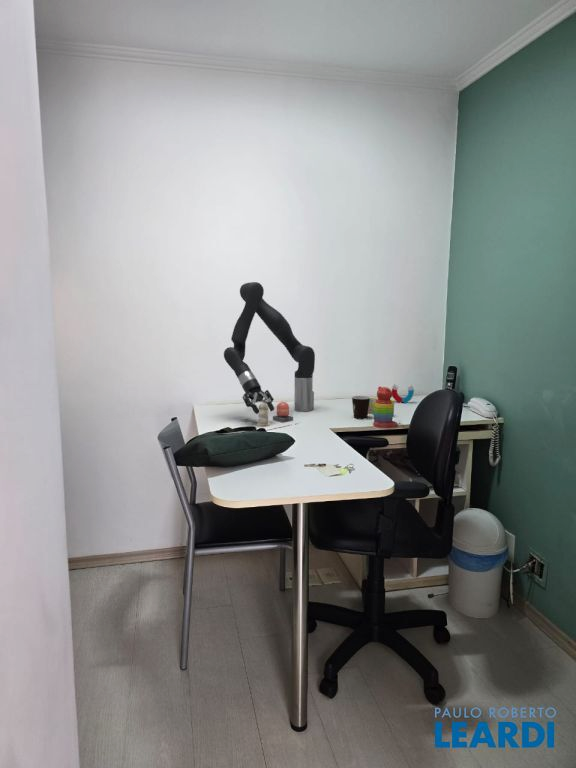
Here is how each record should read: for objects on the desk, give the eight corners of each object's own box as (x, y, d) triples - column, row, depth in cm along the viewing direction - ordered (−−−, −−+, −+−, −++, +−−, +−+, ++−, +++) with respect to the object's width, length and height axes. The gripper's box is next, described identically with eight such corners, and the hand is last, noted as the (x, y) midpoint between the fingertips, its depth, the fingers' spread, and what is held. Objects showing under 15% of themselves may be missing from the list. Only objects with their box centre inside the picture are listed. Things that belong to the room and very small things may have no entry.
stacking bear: (400, 426, 254) (401, 387, 251) (383, 429, 248) (384, 389, 245) (383, 421, 262) (384, 384, 259) (367, 424, 257) (368, 386, 254)
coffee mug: (368, 420, 265) (369, 399, 264) (350, 419, 267) (351, 398, 265) (370, 414, 276) (370, 395, 275) (352, 414, 278) (353, 394, 277)
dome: (283, 412, 264) (283, 400, 263) (292, 414, 260) (292, 402, 259) (273, 414, 260) (273, 401, 259) (282, 416, 256) (282, 403, 255)
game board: (269, 415, 275) (269, 410, 274) (300, 423, 259) (300, 417, 258) (226, 423, 258) (226, 418, 257) (256, 432, 241) (256, 426, 241)
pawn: (264, 422, 256) (264, 401, 254) (272, 424, 251) (272, 403, 250) (254, 424, 252) (254, 402, 250) (262, 426, 248) (262, 404, 246)
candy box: (394, 416, 274) (394, 399, 272) (392, 417, 272) (392, 400, 271) (364, 412, 283) (365, 396, 282) (362, 412, 281) (363, 396, 280)
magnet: (413, 402, 306) (414, 384, 305) (413, 403, 304) (413, 385, 302) (391, 401, 309) (392, 383, 308) (391, 402, 307) (391, 384, 305)
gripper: (240, 379, 249) (256, 408, 243) (264, 376, 258) (281, 404, 252) (233, 389, 254) (249, 418, 247) (257, 386, 263) (273, 414, 257)
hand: (265, 411), depth 250 cm, fingers open, 8 cm apart
